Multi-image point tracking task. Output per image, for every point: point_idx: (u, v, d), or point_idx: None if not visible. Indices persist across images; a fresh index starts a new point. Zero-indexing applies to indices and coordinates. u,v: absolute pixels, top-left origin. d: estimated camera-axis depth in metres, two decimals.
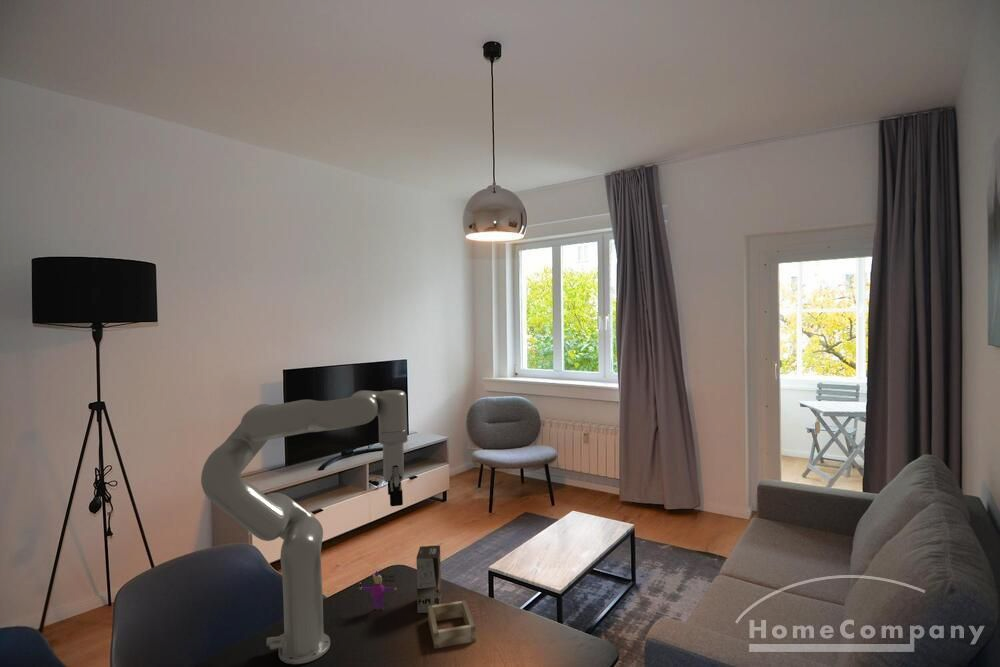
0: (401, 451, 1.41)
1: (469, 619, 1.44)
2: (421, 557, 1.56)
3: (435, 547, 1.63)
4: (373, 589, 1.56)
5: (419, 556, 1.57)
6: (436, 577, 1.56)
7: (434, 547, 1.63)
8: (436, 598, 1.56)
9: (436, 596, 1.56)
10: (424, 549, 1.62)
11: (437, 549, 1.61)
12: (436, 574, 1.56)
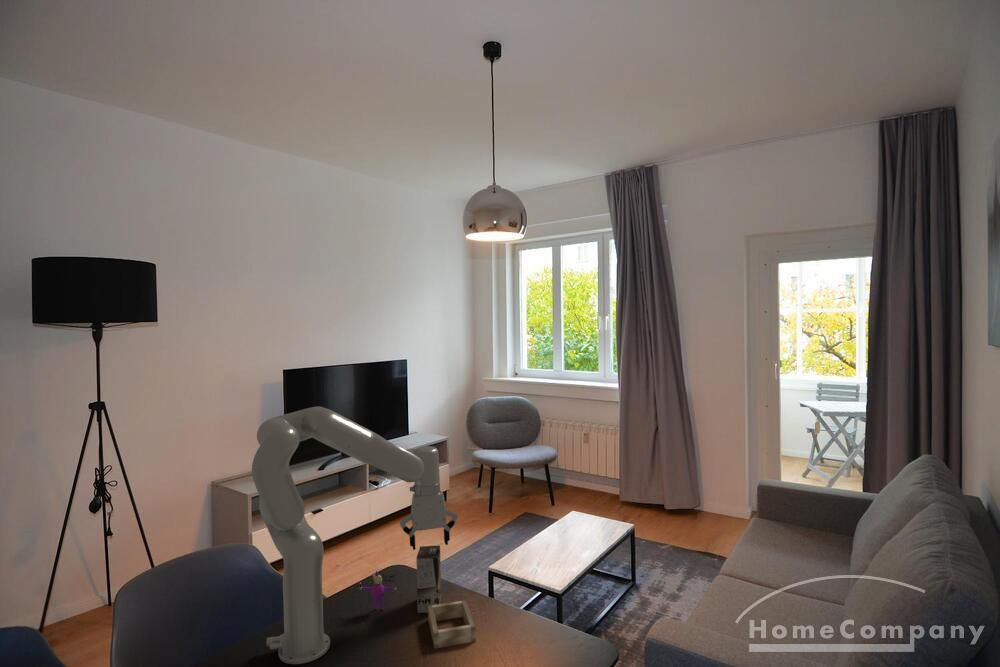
0: None
1: (469, 619, 1.44)
2: (421, 557, 1.56)
3: (435, 547, 1.63)
4: (373, 589, 1.56)
5: (419, 556, 1.57)
6: (436, 577, 1.56)
7: (434, 547, 1.63)
8: (436, 598, 1.56)
9: (436, 596, 1.56)
10: (424, 549, 1.62)
11: (437, 549, 1.61)
12: (436, 574, 1.56)
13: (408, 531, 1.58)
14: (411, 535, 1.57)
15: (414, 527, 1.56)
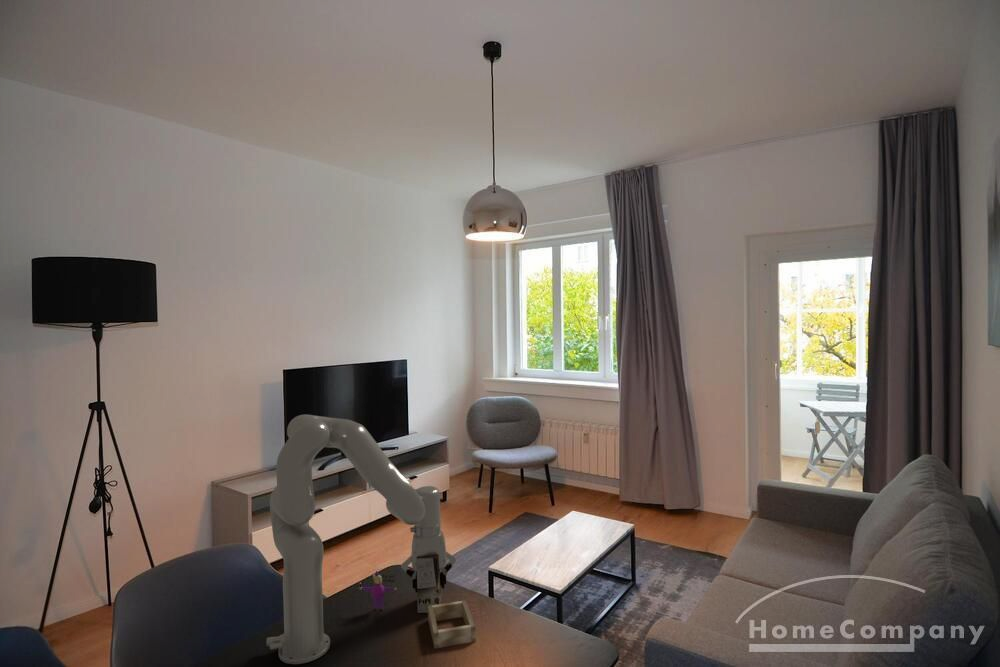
0: None
1: (469, 619, 1.44)
2: (421, 557, 1.56)
3: None
4: (373, 589, 1.56)
5: None
6: (436, 577, 1.56)
7: None
8: (436, 598, 1.56)
9: (436, 596, 1.56)
10: None
11: None
12: (436, 574, 1.56)
13: (411, 574, 1.58)
14: (414, 578, 1.58)
15: (414, 568, 1.56)
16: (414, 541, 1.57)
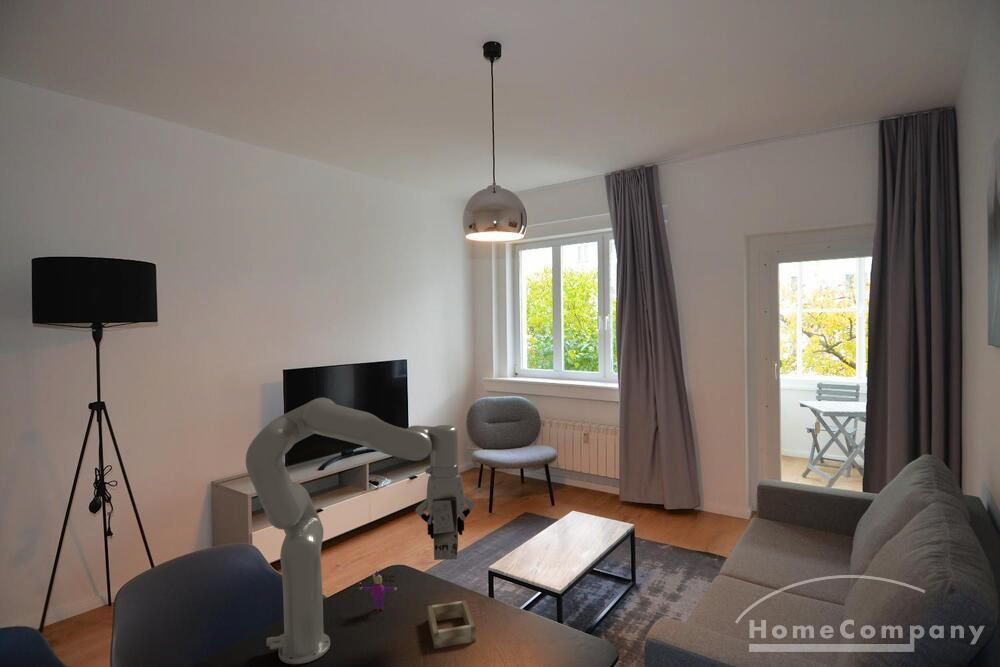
0: None
1: (469, 619, 1.44)
2: (438, 499, 1.44)
3: None
4: (373, 589, 1.56)
5: None
6: (454, 521, 1.43)
7: None
8: (454, 544, 1.43)
9: (454, 541, 1.43)
10: None
11: None
12: (454, 518, 1.43)
13: (426, 518, 1.45)
14: (430, 523, 1.45)
15: (430, 512, 1.44)
16: (430, 483, 1.44)
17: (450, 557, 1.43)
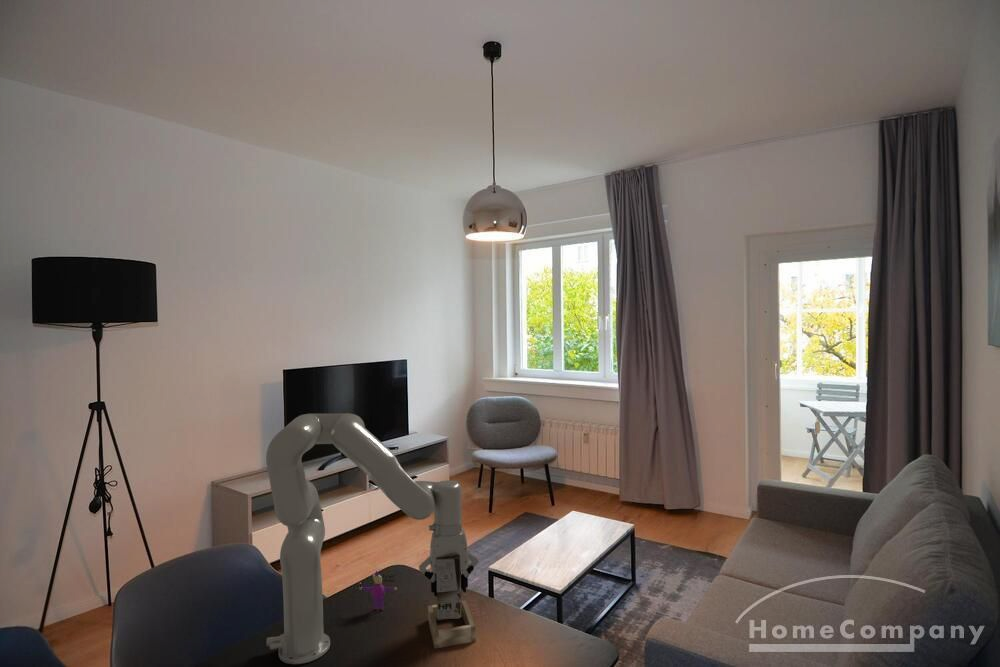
0: None
1: (469, 619, 1.44)
2: (441, 558, 1.42)
3: None
4: (373, 589, 1.56)
5: None
6: (458, 580, 1.42)
7: None
8: (457, 603, 1.42)
9: (457, 600, 1.42)
10: None
11: None
12: (458, 576, 1.42)
13: (430, 576, 1.44)
14: (433, 580, 1.44)
15: (433, 570, 1.43)
16: (433, 540, 1.43)
17: (453, 616, 1.42)
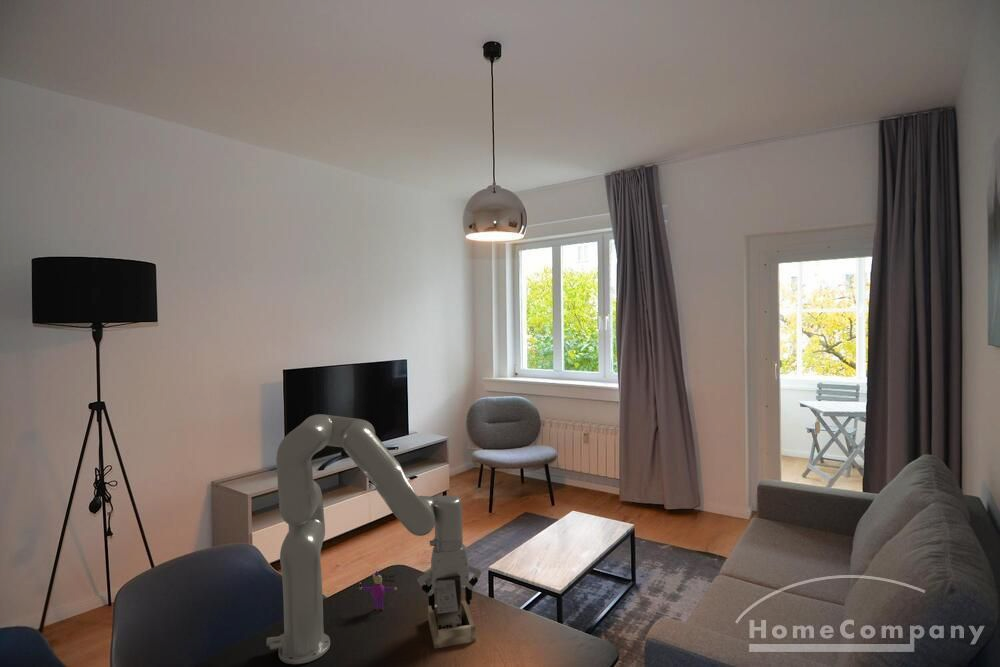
0: None
1: (469, 619, 1.44)
2: (442, 579, 1.43)
3: None
4: (373, 589, 1.56)
5: None
6: (458, 600, 1.42)
7: None
8: (458, 623, 1.42)
9: (458, 621, 1.42)
10: None
11: None
12: (458, 597, 1.42)
13: (427, 589, 1.44)
14: (430, 594, 1.44)
15: (434, 586, 1.43)
16: (434, 556, 1.43)
17: None
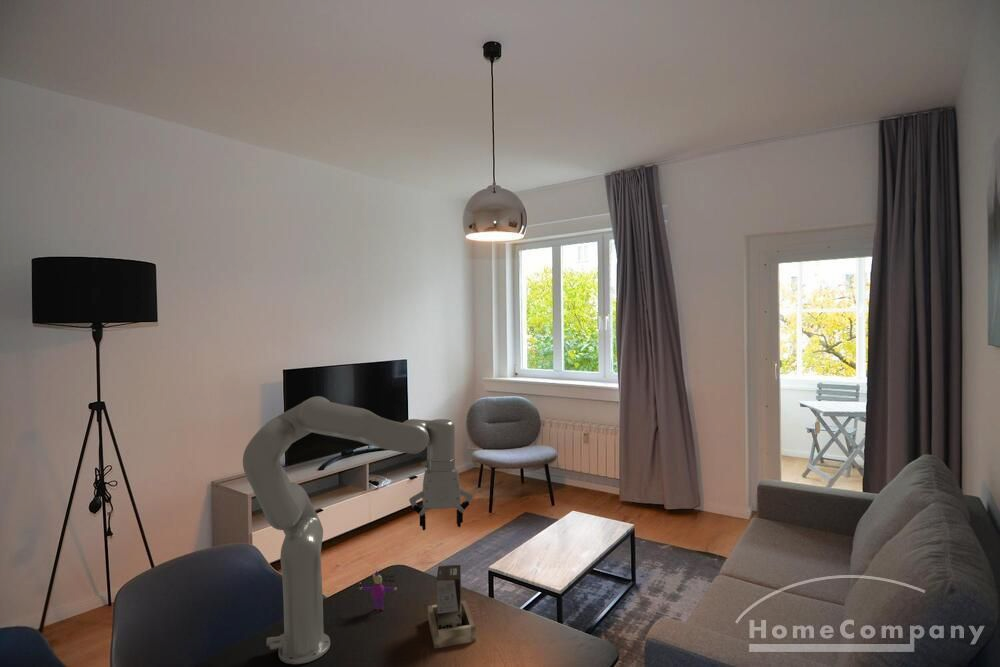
0: None
1: (469, 619, 1.44)
2: (441, 579, 1.43)
3: (455, 567, 1.49)
4: (373, 589, 1.56)
5: (439, 577, 1.43)
6: (458, 600, 1.42)
7: (454, 567, 1.49)
8: (458, 623, 1.42)
9: (458, 621, 1.42)
10: (443, 570, 1.48)
11: (458, 569, 1.48)
12: (458, 597, 1.42)
13: (418, 510, 1.45)
14: (421, 514, 1.45)
15: (425, 505, 1.44)
16: (426, 476, 1.45)
17: None
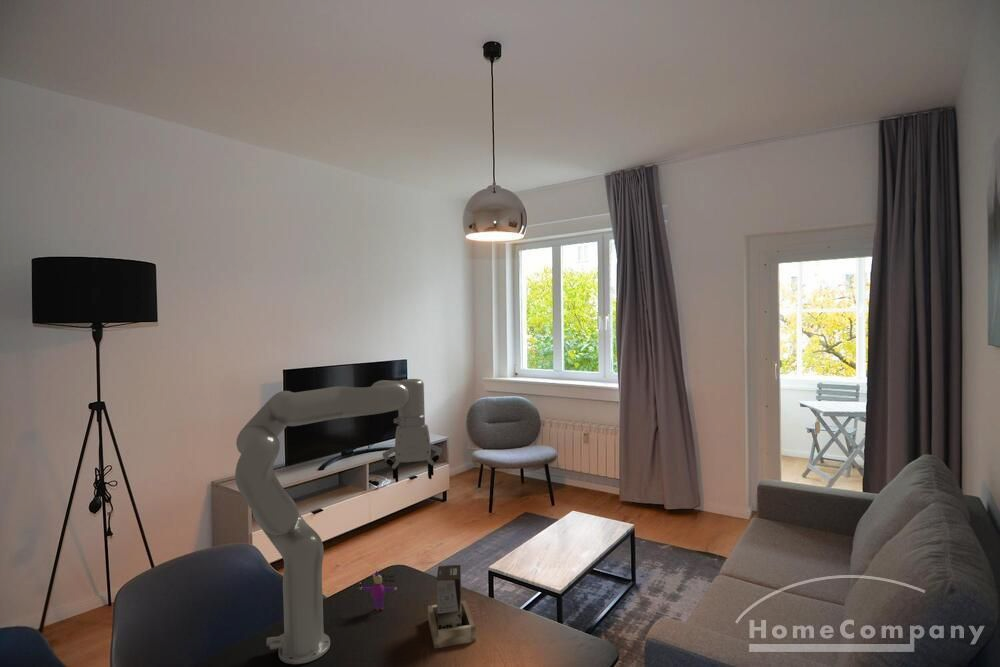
0: None
1: (469, 619, 1.44)
2: (442, 579, 1.43)
3: (455, 567, 1.49)
4: (373, 589, 1.56)
5: (439, 577, 1.43)
6: (458, 600, 1.42)
7: (454, 567, 1.49)
8: (458, 623, 1.42)
9: (458, 621, 1.42)
10: (443, 569, 1.48)
11: (458, 569, 1.48)
12: (458, 597, 1.42)
13: (391, 463, 1.55)
14: (394, 467, 1.55)
15: (397, 458, 1.54)
16: (397, 431, 1.54)
17: None
